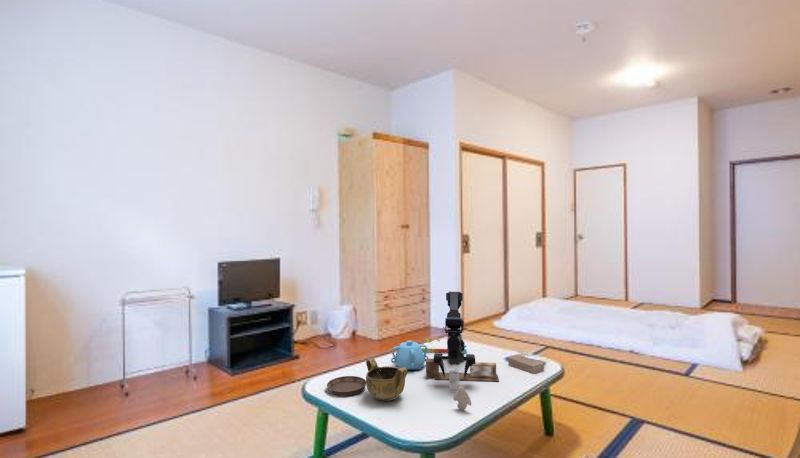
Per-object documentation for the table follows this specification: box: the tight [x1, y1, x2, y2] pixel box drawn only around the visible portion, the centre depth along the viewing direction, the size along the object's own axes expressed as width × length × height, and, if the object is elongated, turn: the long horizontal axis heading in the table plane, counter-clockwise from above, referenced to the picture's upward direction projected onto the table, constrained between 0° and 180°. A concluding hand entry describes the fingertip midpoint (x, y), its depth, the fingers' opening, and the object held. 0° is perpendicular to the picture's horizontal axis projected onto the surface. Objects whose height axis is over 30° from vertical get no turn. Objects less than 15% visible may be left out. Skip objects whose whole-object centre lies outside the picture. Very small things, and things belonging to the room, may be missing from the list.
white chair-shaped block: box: [448, 369, 461, 391], centre depth 194 cm, size 4×9×6 cm, turn 174°
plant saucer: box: [326, 375, 366, 397], centre depth 192 cm, size 18×18×3 cm
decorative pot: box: [390, 340, 429, 371], centre depth 220 cm, size 16×16×14 cm
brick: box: [507, 354, 545, 375], centre depth 216 cm, size 17×8×5 cm, turn 36°
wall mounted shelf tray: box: [469, 361, 497, 378], centre depth 202 cm, size 12×4×6 cm, turn 83°
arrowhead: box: [453, 385, 472, 411], centre depth 169 cm, size 8×3×10 cm, turn 54°
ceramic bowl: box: [365, 357, 408, 402], centre depth 182 cm, size 22×17×15 cm
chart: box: [421, 326, 468, 355], centre depth 243 cm, size 30×3×15 cm, turn 83°
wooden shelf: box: [425, 357, 500, 383], centre depth 204 cm, size 34×8×8 cm, turn 83°
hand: (454, 377), depth 194 cm, fingers open, 9 cm apart
